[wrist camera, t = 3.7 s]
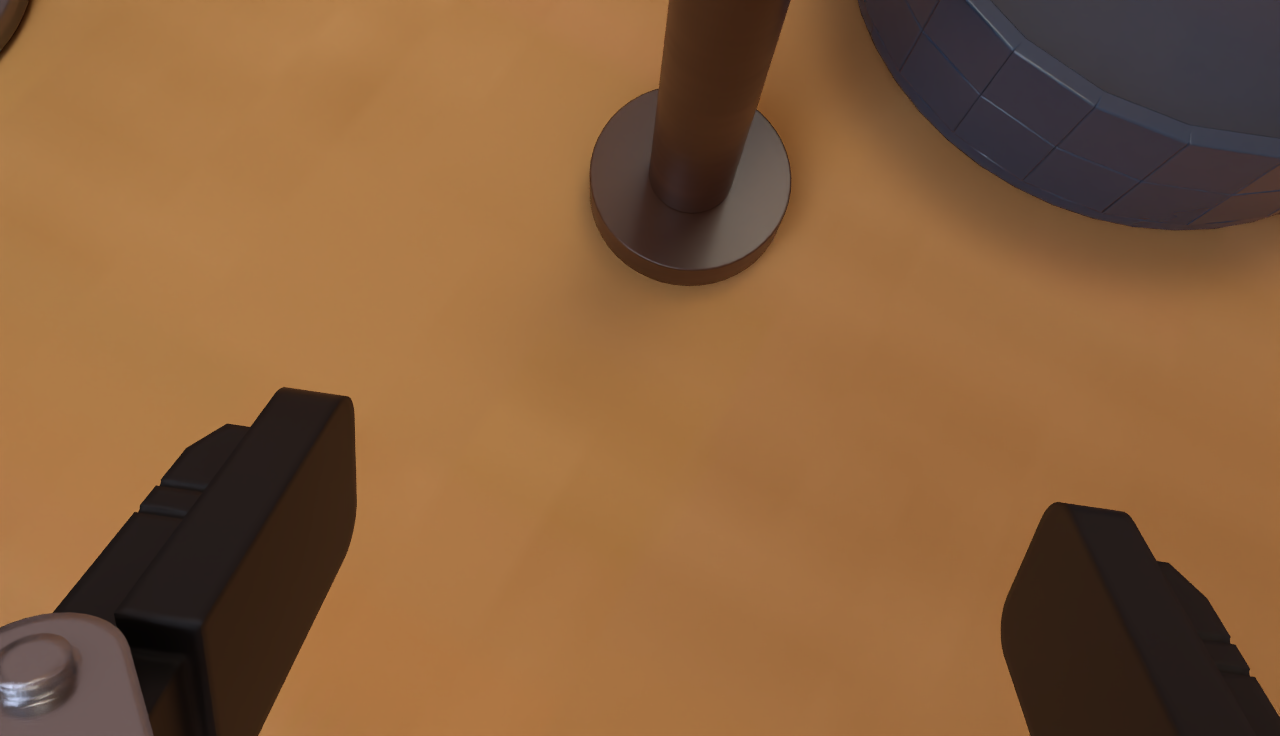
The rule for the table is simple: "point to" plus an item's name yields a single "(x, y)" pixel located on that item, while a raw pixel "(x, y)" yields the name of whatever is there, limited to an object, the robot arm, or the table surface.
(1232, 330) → the table surface
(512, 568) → the table surface
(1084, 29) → the bowl
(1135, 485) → the table surface
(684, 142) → the wall peg
